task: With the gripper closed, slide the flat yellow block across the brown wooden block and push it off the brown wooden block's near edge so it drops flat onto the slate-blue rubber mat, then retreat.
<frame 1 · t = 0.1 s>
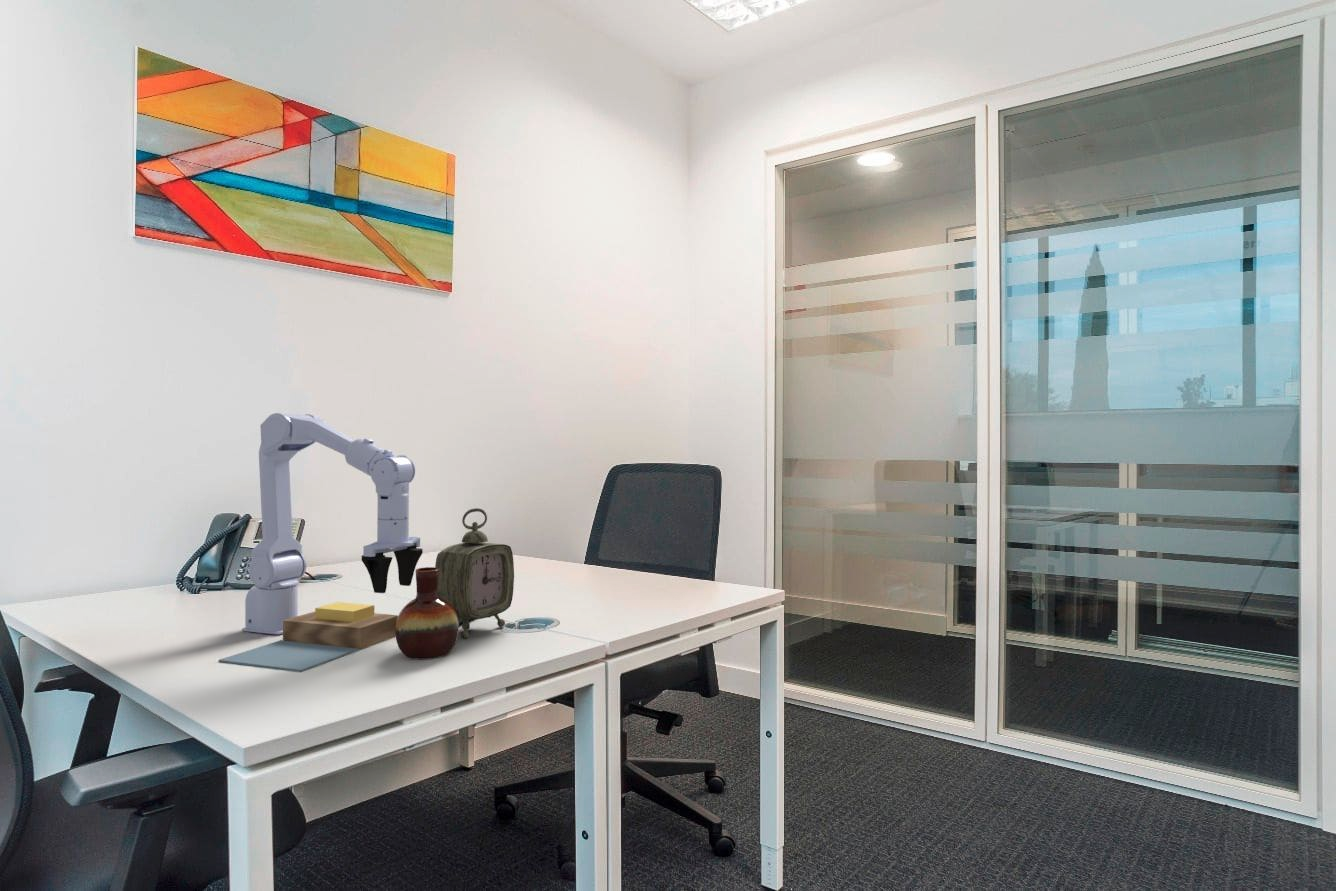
hand: (392, 588, 152), 10 cm above the table, tool pointing down, fingers open, 7 cm apart
mat: (290, 655, 142), on the table
tabletop clock: (473, 632, 160), on the table
brown wooden block: (341, 638, 154), on the table
carrying case or bag: (442, 625, 167), on the table
flat yellow block: (345, 616, 155), point 4 cm above the table, touching brown wooden block
vase: (427, 654, 144), on the table
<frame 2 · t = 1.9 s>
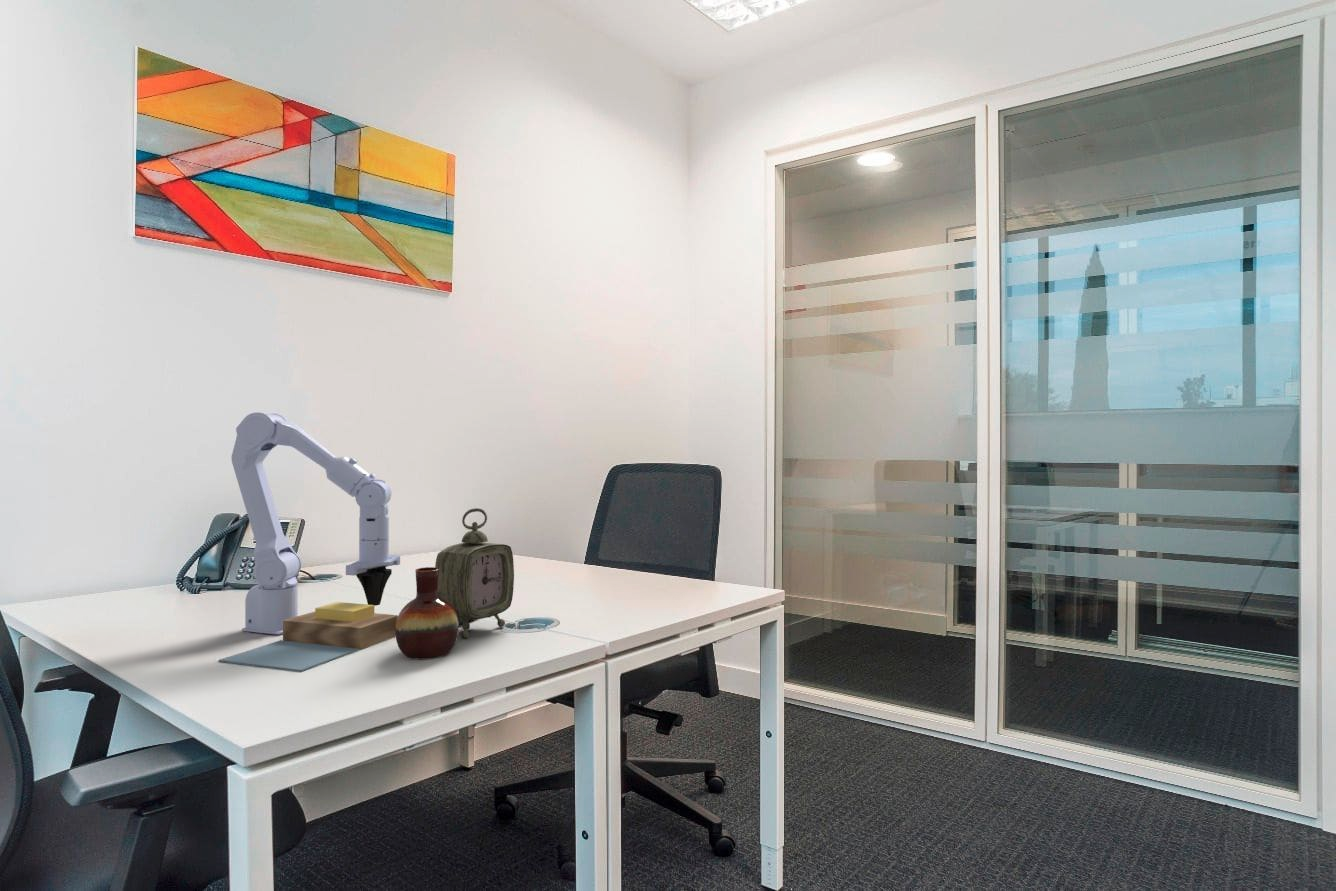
hand: (374, 604, 163), 5 cm above the table, tool pointing down, fingers closed
nothing on the table moved.
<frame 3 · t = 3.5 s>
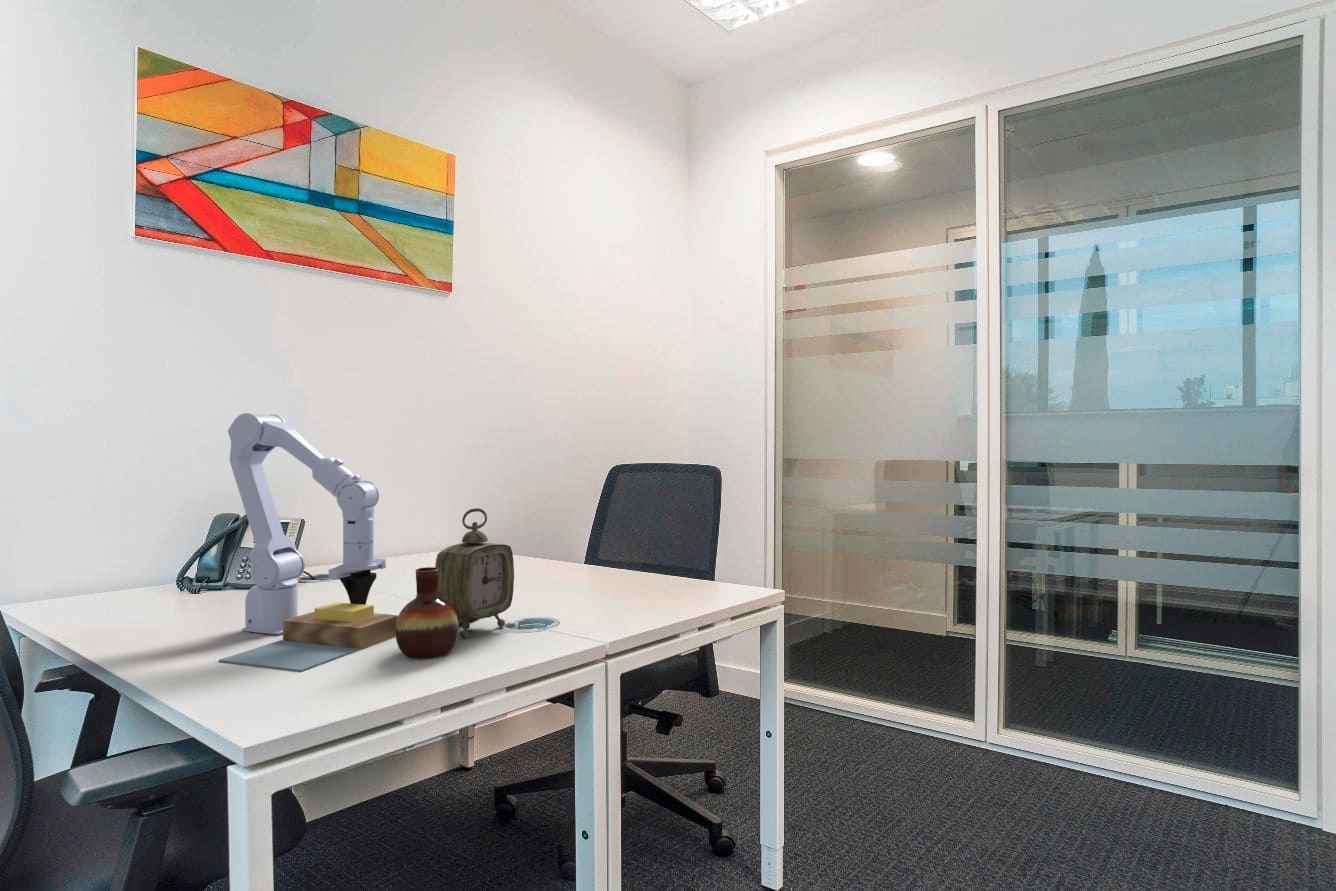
hand: (358, 609, 159), 5 cm above the table, tool pointing down, fingers closed
flat yellow block: (344, 617, 155), point 4 cm above the table, touching brown wooden block, gripper
everything else where it was.
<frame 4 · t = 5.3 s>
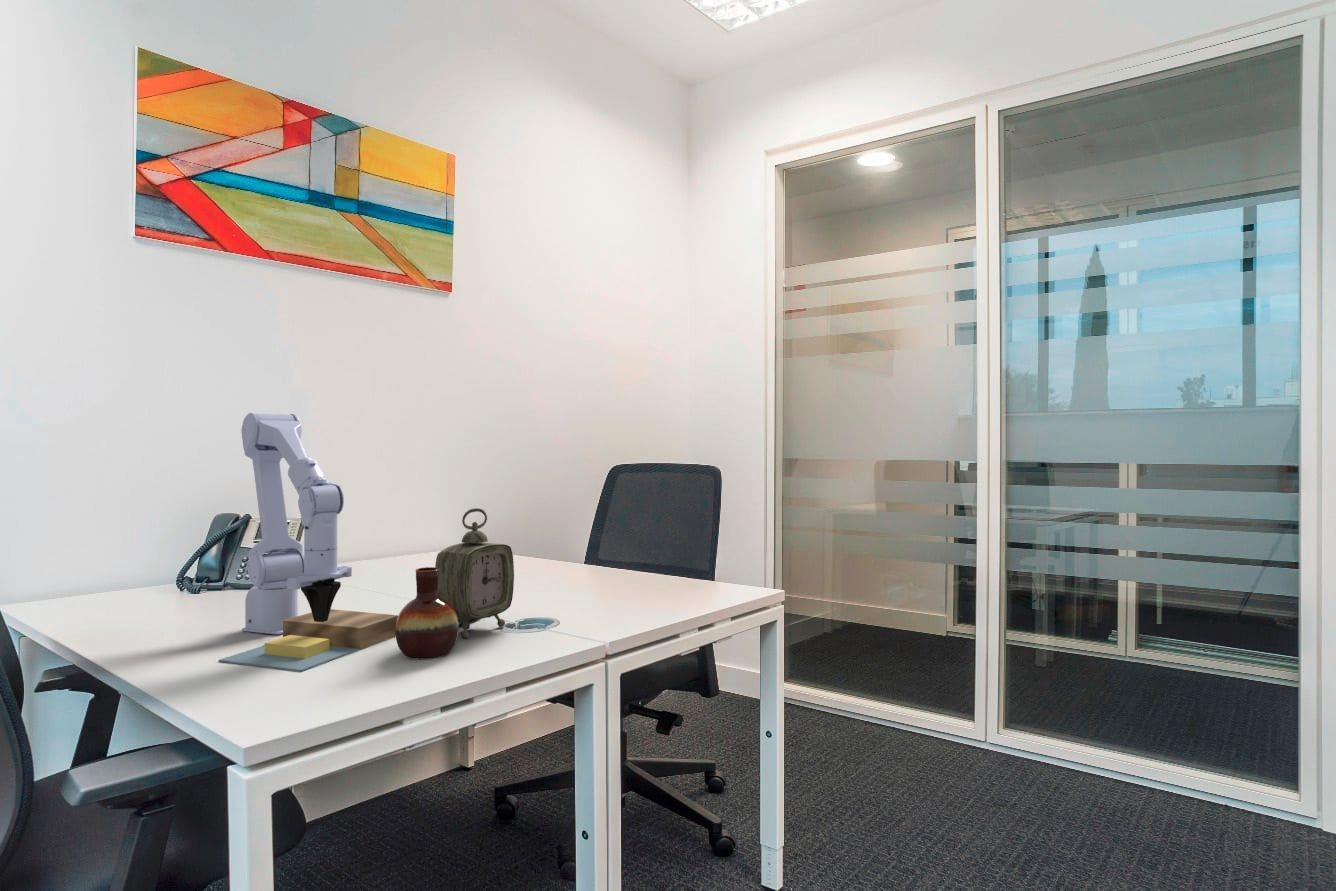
hand: (320, 621, 149), 5 cm above the table, tool pointing down, fingers closed
flat yellow block: (297, 640, 143), point 2 cm above the table, tilted 180°, touching mat
everything else where it was.
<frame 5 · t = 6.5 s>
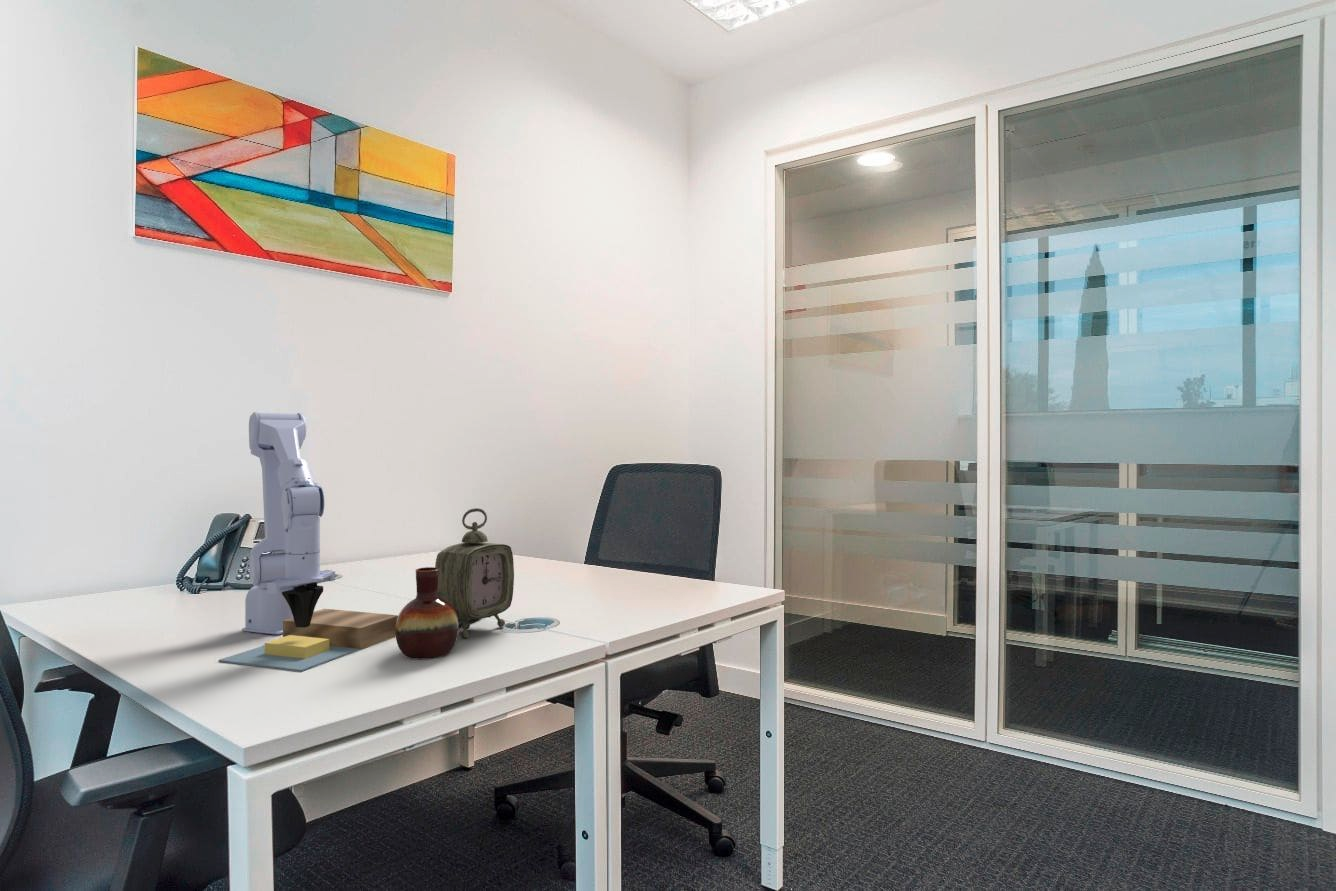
hand: (302, 626, 144), 5 cm above the table, tool pointing down, fingers closed
nothing on the table moved.
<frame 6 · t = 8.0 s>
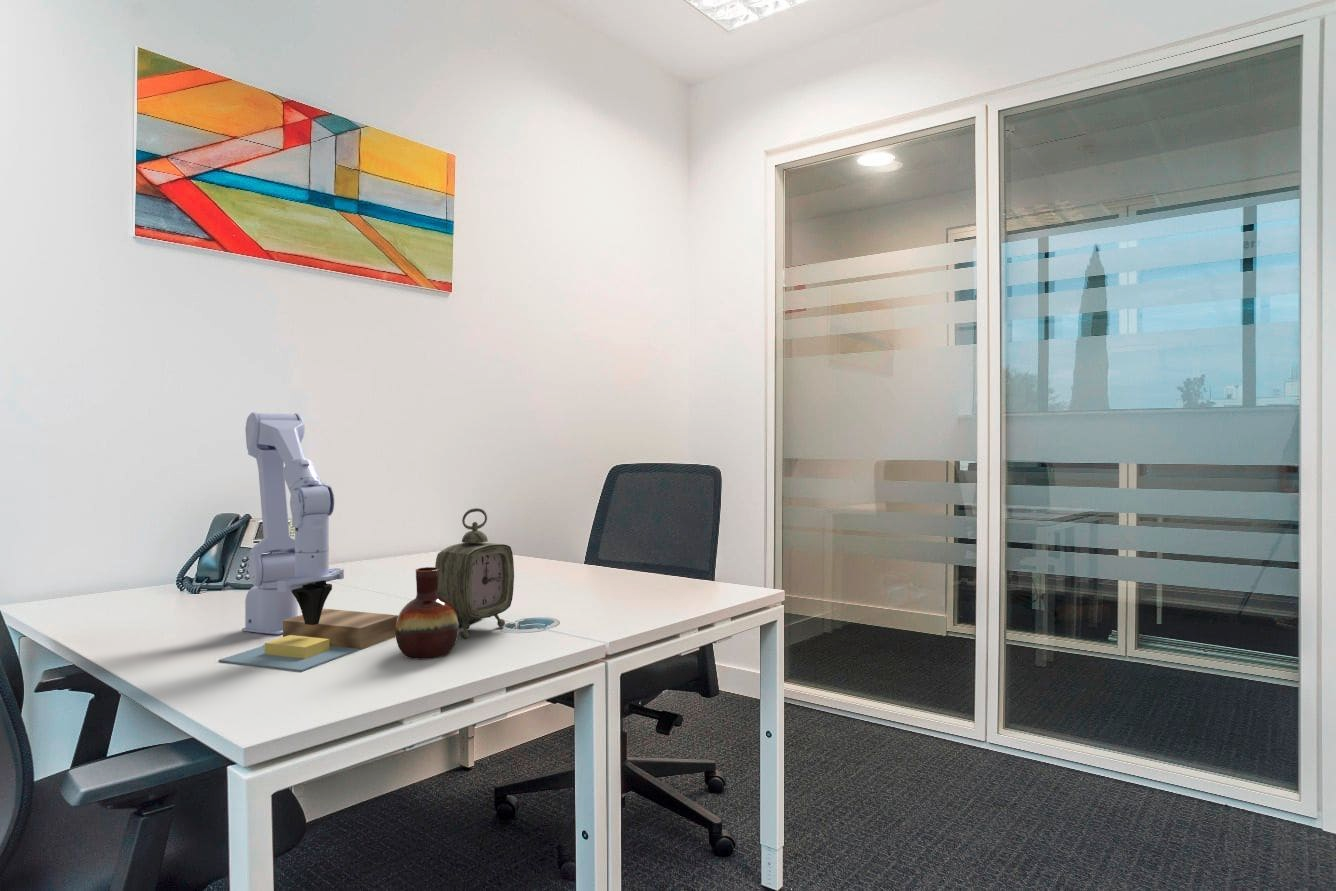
hand: (311, 623, 147), 5 cm above the table, tool pointing down, fingers closed
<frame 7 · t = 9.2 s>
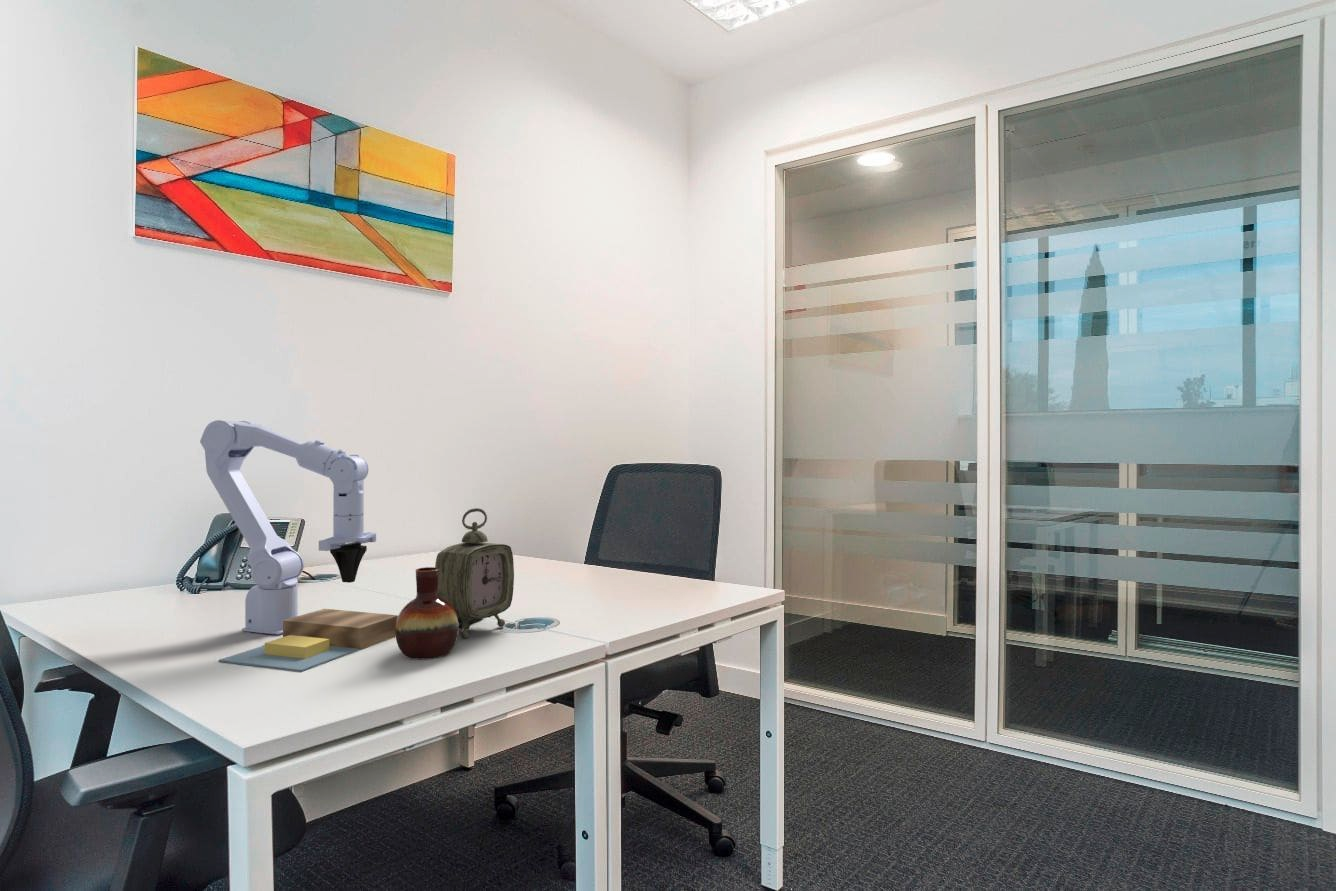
hand: (348, 581, 160), 10 cm above the table, tool pointing down, fingers closed
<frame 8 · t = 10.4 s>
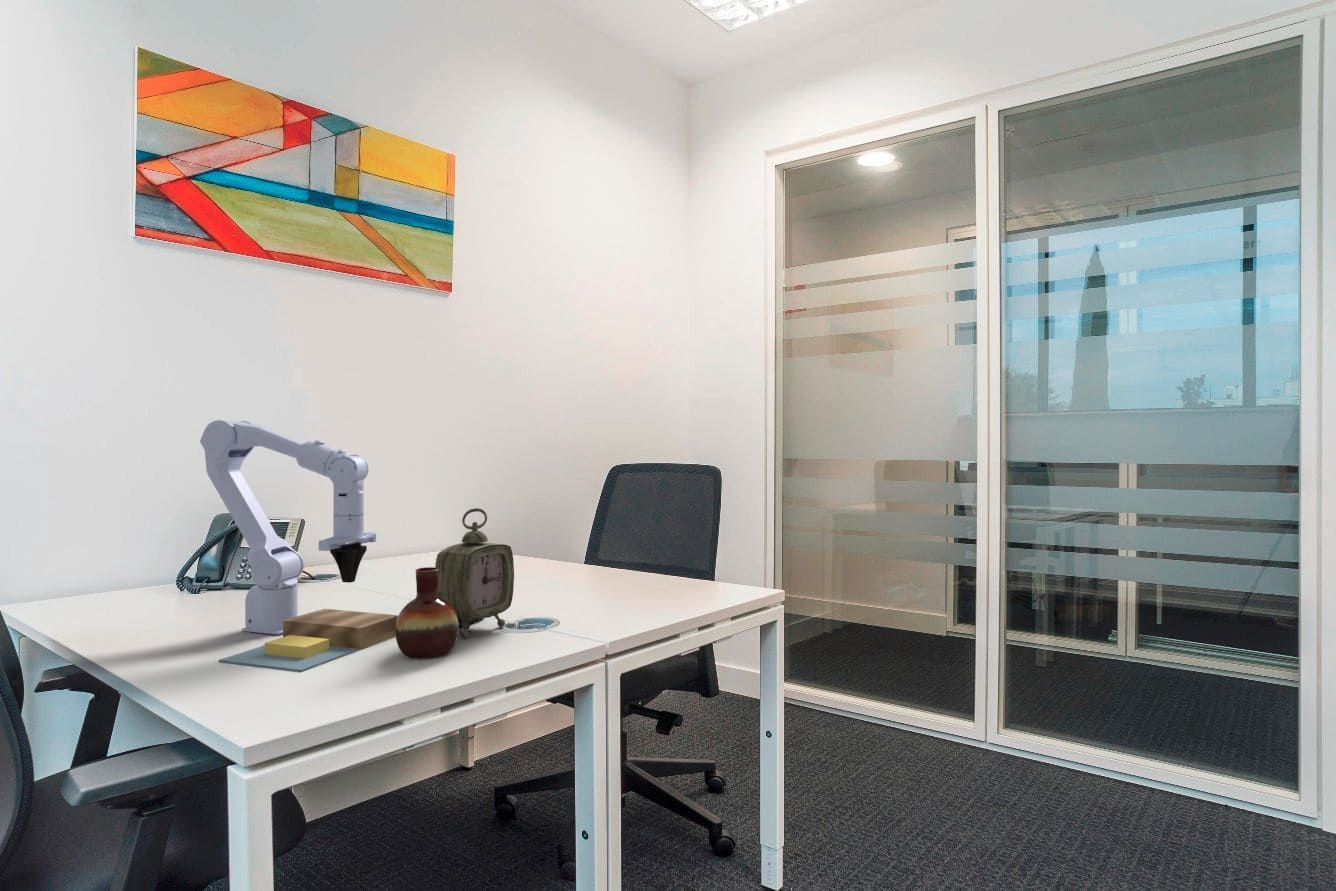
hand: (348, 581, 160), 10 cm above the table, tool pointing down, fingers closed
at the end: flat yellow block inside the target area (2.0 cm from its centre), point 2.3 cm above the table; flat yellow block point 2.3 cm above the table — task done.
